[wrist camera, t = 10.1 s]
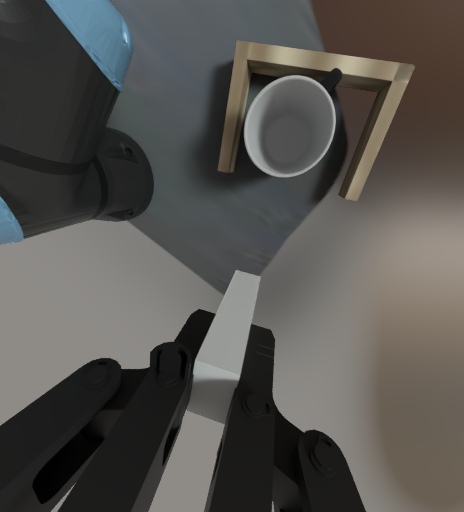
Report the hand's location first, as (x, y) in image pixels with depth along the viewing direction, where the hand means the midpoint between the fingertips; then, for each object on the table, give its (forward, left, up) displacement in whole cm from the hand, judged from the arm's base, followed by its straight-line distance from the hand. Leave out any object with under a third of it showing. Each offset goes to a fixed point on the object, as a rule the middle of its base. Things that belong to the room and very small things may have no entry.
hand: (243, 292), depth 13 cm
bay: (+1, +12, -24) cm, 27 cm away
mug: (+1, +12, -25) cm, 27 cm away
